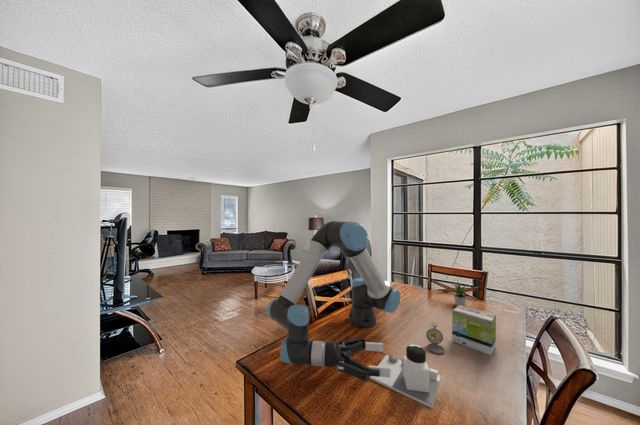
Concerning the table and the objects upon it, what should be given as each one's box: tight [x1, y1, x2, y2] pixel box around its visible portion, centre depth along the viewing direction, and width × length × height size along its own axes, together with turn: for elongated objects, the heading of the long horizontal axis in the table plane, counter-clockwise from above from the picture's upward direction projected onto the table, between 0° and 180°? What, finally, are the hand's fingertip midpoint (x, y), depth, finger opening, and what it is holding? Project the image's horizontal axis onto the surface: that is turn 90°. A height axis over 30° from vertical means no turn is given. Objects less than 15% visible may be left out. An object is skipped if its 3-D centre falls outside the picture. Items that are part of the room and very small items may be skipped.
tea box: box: [451, 305, 497, 357], centre depth 103 cm, size 15×10×15 cm
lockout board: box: [369, 354, 442, 409], centre depth 81 cm, size 20×16×3 cm
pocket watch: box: [425, 322, 445, 355], centre depth 99 cm, size 8×8×10 cm
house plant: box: [448, 279, 473, 307], centre depth 149 cm, size 14×14×16 cm
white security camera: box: [402, 344, 430, 393], centre depth 77 cm, size 7×7×12 cm
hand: (386, 358), depth 78 cm, fingers open, 13 cm apart
